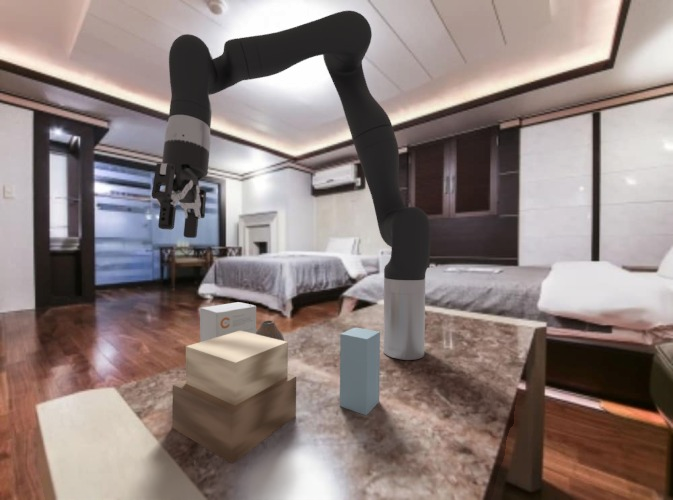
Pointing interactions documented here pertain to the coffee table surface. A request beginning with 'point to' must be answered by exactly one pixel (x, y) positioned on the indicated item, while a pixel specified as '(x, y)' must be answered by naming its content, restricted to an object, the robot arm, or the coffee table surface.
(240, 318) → the small box
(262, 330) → the vase
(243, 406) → the tower base
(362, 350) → the block
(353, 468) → the coffee table surface
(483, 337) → the coffee table surface
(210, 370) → the tower top
